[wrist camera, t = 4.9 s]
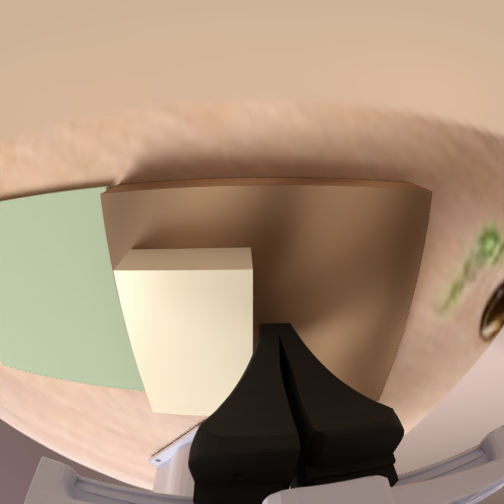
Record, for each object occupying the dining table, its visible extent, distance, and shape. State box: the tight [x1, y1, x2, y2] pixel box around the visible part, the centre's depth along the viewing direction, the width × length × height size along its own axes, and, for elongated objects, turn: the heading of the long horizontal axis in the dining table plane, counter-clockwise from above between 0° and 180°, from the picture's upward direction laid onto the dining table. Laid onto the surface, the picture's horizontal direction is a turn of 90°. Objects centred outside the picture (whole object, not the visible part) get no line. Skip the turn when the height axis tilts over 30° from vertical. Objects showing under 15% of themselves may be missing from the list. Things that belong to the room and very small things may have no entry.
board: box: [100, 177, 432, 401], centre depth 15 cm, size 14×13×2 cm
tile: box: [113, 247, 253, 416], centre depth 13 cm, size 5×8×2 cm, turn 0°
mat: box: [0, 185, 145, 391], centre depth 15 cm, size 14×13×1 cm
